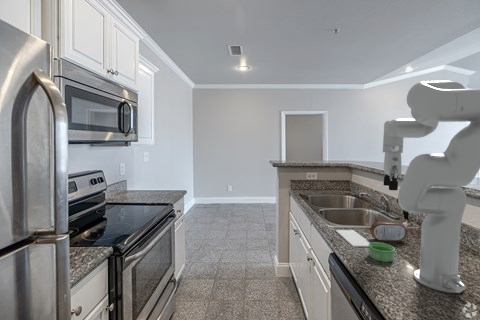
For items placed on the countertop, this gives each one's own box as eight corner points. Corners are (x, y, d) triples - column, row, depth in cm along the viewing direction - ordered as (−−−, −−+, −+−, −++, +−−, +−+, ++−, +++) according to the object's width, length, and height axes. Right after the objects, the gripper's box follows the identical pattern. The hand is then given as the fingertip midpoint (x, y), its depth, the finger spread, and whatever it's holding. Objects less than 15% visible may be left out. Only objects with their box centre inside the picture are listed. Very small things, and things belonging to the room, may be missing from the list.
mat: (374, 247, 109) (374, 245, 109) (353, 246, 109) (353, 245, 109) (353, 231, 129) (353, 230, 129) (335, 231, 129) (335, 230, 129)
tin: (403, 239, 118) (404, 221, 117) (407, 242, 115) (408, 224, 114) (369, 238, 119) (370, 220, 119) (372, 241, 116) (372, 222, 116)
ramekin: (399, 263, 94) (400, 251, 94) (374, 262, 95) (374, 251, 95) (387, 253, 103) (387, 242, 103) (364, 252, 104) (364, 241, 104)
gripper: (408, 150, 102) (406, 192, 104) (396, 148, 118) (394, 184, 120) (387, 150, 104) (385, 191, 106) (378, 147, 120) (376, 183, 122)
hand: (390, 187), depth 113 cm, fingers open, 9 cm apart
